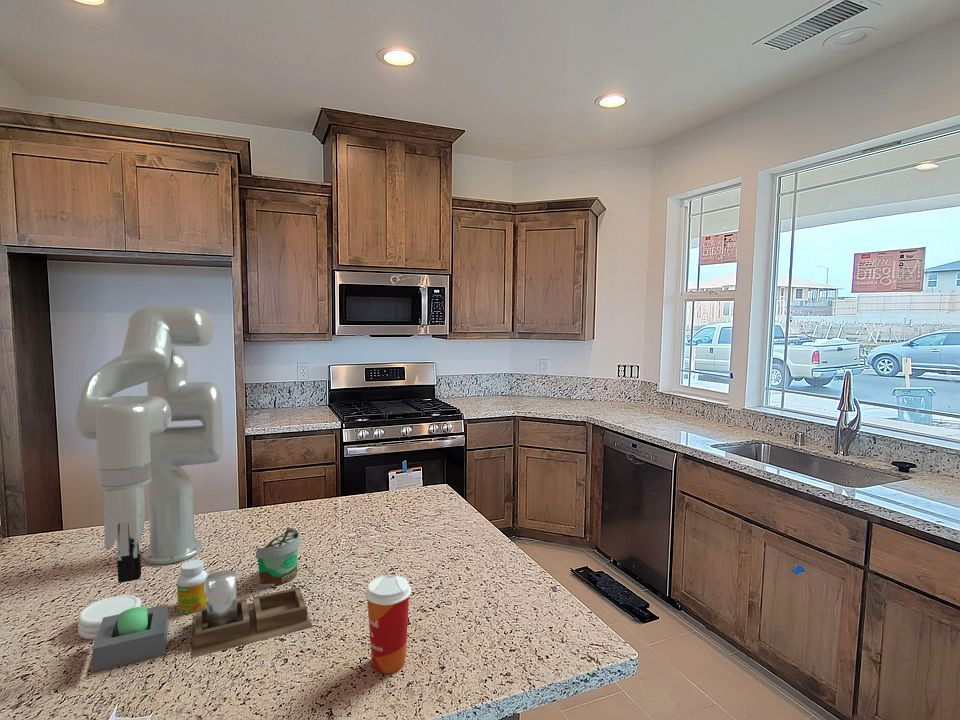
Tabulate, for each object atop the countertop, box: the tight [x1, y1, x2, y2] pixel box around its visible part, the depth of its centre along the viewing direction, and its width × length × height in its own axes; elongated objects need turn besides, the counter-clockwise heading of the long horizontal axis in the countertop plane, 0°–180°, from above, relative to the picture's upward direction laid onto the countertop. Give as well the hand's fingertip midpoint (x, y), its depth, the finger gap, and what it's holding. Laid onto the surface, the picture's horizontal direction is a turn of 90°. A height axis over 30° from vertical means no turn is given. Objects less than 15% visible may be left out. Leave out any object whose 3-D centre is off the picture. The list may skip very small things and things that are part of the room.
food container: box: [255, 527, 302, 588], centre depth 117 cm, size 12×6×10 cm, turn 168°
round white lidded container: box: [76, 594, 142, 640], centre depth 101 cm, size 10×10×4 cm
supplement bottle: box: [176, 559, 209, 615], centre depth 105 cm, size 5×5×10 cm
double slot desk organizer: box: [190, 586, 313, 659], centre depth 100 cm, size 14×20×4 cm
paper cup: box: [364, 575, 412, 675], centre depth 90 cm, size 8×8×14 cm
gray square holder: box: [92, 603, 170, 673], centre depth 92 cm, size 10×10×5 cm
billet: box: [206, 569, 238, 629], centre depth 98 cm, size 5×5×10 cm
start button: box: [117, 606, 148, 636], centre depth 92 cm, size 4×4×4 cm
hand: (130, 579), depth 91 cm, fingers closed
